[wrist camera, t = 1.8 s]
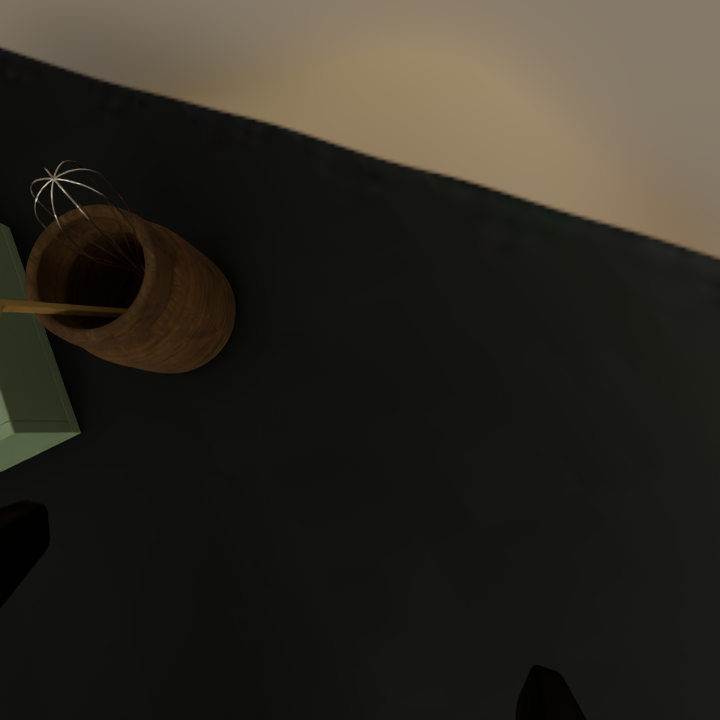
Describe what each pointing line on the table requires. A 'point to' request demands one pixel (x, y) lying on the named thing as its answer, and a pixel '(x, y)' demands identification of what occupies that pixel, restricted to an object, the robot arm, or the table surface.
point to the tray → (27, 374)
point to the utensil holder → (125, 288)
